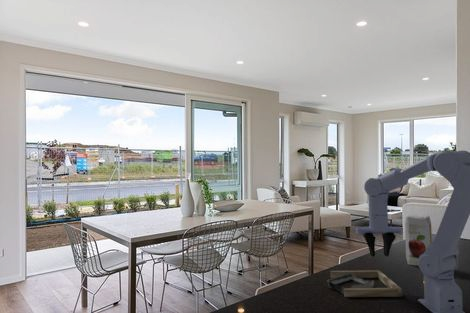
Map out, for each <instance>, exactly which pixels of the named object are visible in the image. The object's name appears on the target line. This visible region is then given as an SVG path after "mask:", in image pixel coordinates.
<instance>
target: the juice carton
mask: <svg viewBox="0 0 470 313" xmlns="http://www.w3.org/2000/svg"><path fill="white" fill-rule="evenodd" d="M404 227H405V229H404V233H405V256H406V257H405V259H406V262H407V265H409V266H414V267H415V266H416V267H419V265H418V259H419V257H420V256H421V255H422V254H423V253H424V252H425V251H426V248H427V247H428V246H429V245H430V244H431V243H432V242H433V239H432V238H433V237H432V235H433V234H432V232H433V231H432V221H431V217H430V215H417V214H408V215H407V216H406V217H405V222H404Z"/></svg>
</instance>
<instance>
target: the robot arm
mask: <svg viewBox="0 0 470 313" xmlns="http://www.w3.org/2000/svg"><path fill="white" fill-rule="evenodd" d="M429 172H437V173H438V174H440V175H441V176H442V177H443V178H444V179H445V180H447V181H448V182H449V184H450V185H451V187H452V188H453V191H452V192H451V195H450V197H449V201H448V204H447V206H446V208H445V211H444V214H443V216H442V219H441V222H440V224H439V227H438V229H437V232H436V234H435V237H434V239H433V240H432V243H431V244H430V245H429V246H428V247H427V248H426V251H425V252H424V253H423V254H422V255H421V256H420V257H419V259H418V265H419V266H418V267H419V269H420V271H421V272H422V275H423V289H424V291H423V292H424V293H423V294H424V298H418V300H417V301H418V303H420V304H422V305H423V306H424V307H425V308H426V309H427V310H429V311H430V312H431V313H466V312H465V311H463V310H464V308H463V307H464V306H463V290H462V288H461V287H460V286H459V285H458V284H457V283H456V280H455V275H454V274H455V272H454V271H455V270H456V269H457V268H458V266H459V260H458V259H459V258H458V256H459V254H460V250H459V248H458V247H457V246H458V244H459V242H460V239H461V236H462V234H463V232H464V230H465V227H466V224H467V223H468V220H469V217H470V152H469V151H468V150H441V151H439V152H437V153H433V154H431V155H428V156H426V157H424V158H423V159H421V160H419V161H417V162H415V163H414V164H412V165H409V166H407V167H405V168H403V169H402V168H399V167H391V168H390V169H389V171H388V172H385V173H384V174H383V173H382V174H381V173H380V174H377V177H375V178H374V177H370V178H368V179H367V180H366V181H365V182H364V185H363V186H364V187H363V188H364V191H365V193H366V194H367V197H368V221H369V222H368V226H362V227H361V226H360V227H355V234H356V235H362V236H363V238H364V240H365V242H366V244H367V247H368V251H369V254H370V256H371V257H376V251H375V250H376V248H375V245H376V244H375V243H376V236H375V235H377V234H381V237H382V241H383V242H382V243H383V255H384V256H386V257H389V256H390V255H389V254H390V251H391V249H392V245H393V243H394V241H395V240H396V235H395V234H398V235H402V234H403V227H401V226H389V218H388V217H389V216H388V212H389V211H388V199H389V194H390V192H392V191H394V190H397V189H399V188H402V187H405V186H406V185H408V183H409V180H411V179H412V178H416V177H418V176H421V175H423V174H427V173H429Z"/></svg>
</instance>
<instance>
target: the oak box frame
mask: <svg viewBox="0 0 470 313" xmlns="http://www.w3.org/2000/svg"><path fill="white" fill-rule="evenodd" d="M348 273H352V274H353V276H354V275H355V276H356V277H357V278H361V279H378V280H379V281H380V282H382V283H383V285H385V286H386V287H372V288H351V287H349V288H347V287H344V294H343V296H344V297H345V298H370V297H371V298H377V297H380V298H382V297H383V298H385V297H386V298H389V297H390V298H392V297H393V298H394V297H395V298H396V297H397V298H398V297H403V295H404V294H403V288H402V287H400V285H398V284H396V282H394V281H393V280H392V279H391V278H389V277H388V276H387V275H385V274H384V273H383V271H380V269H378V270H376V269H375V270H372V269H371V270H370V269H369V270H366V269H365V270H330V278H331V279H333V278H335V277H339V276H343V275H344V274H348ZM344 276H345V275H344Z"/></svg>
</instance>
